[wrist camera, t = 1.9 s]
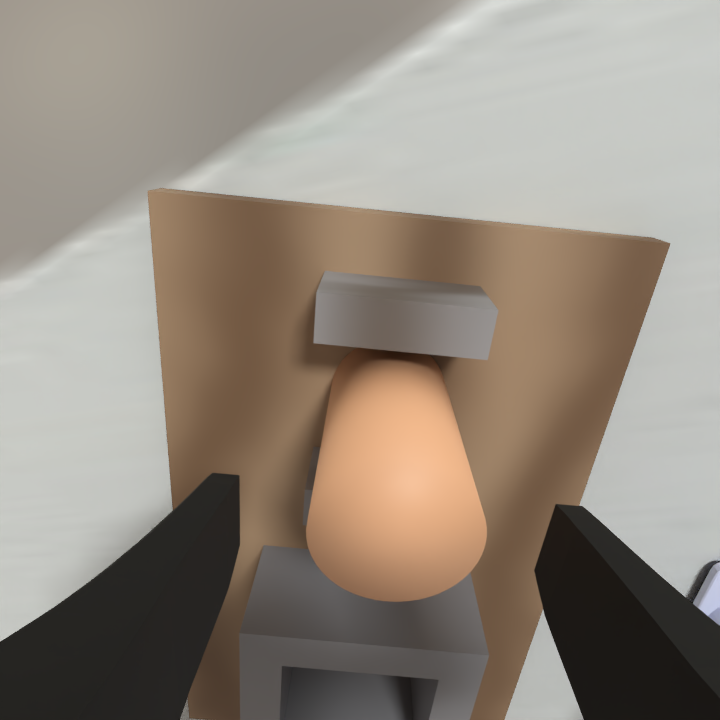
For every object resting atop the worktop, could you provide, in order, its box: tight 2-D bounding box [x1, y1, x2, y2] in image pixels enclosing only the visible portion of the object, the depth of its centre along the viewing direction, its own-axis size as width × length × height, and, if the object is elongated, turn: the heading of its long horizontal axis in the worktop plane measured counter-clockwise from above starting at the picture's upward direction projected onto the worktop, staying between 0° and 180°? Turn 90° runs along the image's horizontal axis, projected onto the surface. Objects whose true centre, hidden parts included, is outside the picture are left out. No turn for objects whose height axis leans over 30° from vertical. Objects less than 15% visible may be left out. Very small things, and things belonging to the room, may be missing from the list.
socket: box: [239, 545, 489, 720], centre depth 20 cm, size 9×9×4 cm
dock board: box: [148, 188, 670, 720], centre depth 19 cm, size 16×26×4 cm, turn 175°
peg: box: [306, 347, 487, 602], centre depth 14 cm, size 4×4×7 cm
